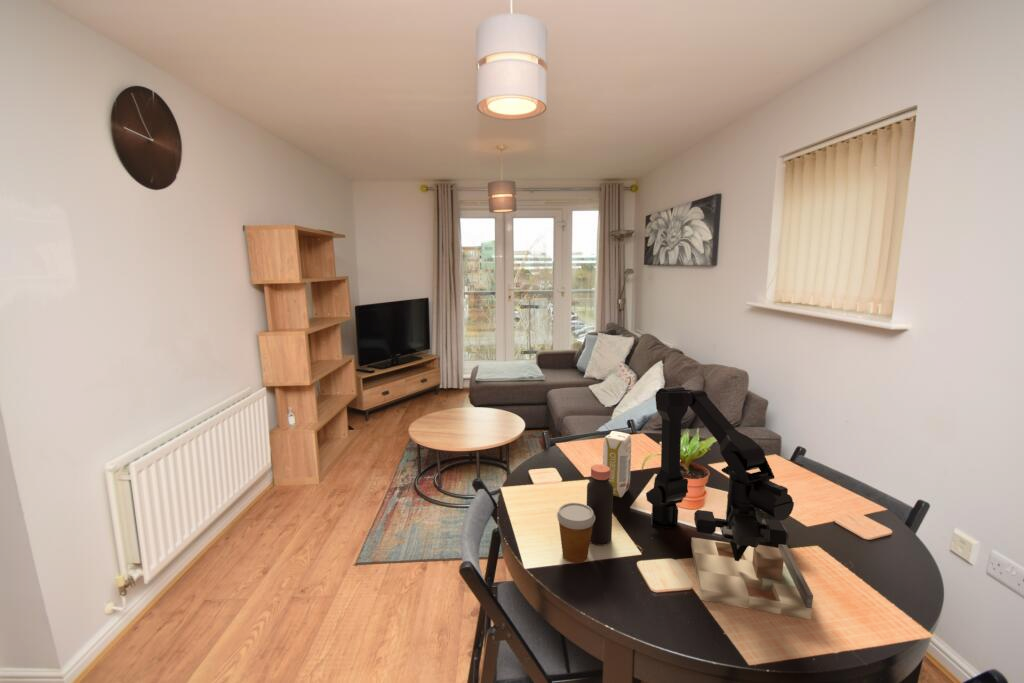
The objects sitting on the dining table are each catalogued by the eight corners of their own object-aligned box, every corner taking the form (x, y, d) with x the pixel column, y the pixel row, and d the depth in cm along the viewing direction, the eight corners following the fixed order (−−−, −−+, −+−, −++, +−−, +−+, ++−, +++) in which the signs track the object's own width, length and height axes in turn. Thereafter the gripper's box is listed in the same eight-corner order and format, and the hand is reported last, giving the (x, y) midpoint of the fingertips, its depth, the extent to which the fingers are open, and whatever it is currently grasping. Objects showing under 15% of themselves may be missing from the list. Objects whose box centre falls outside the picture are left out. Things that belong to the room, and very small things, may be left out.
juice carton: (631, 488, 148) (633, 433, 145) (622, 499, 141) (624, 442, 138) (609, 482, 152) (611, 429, 149) (599, 493, 145) (601, 437, 142)
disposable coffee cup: (585, 572, 107) (586, 526, 105) (549, 559, 112) (550, 514, 110) (600, 551, 115) (601, 508, 113) (566, 540, 120) (566, 498, 118)
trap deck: (700, 599, 98) (702, 576, 97) (691, 546, 117) (692, 526, 116) (810, 619, 92) (813, 595, 92) (781, 559, 111) (783, 539, 111)
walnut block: (756, 577, 102) (758, 556, 101) (752, 563, 106) (754, 544, 105) (781, 581, 100) (783, 561, 99) (776, 567, 105) (778, 548, 104)
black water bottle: (616, 538, 121) (618, 467, 118) (602, 549, 116) (605, 476, 113) (594, 528, 125) (596, 460, 122) (580, 538, 121) (582, 468, 117)
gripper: (702, 509, 97) (697, 575, 99) (800, 522, 92) (792, 591, 94) (696, 486, 108) (691, 545, 110) (783, 496, 103) (777, 558, 105)
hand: (736, 560), depth 105 cm, fingers closed
